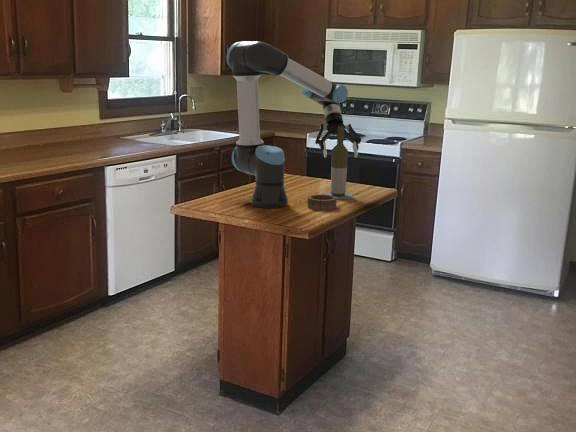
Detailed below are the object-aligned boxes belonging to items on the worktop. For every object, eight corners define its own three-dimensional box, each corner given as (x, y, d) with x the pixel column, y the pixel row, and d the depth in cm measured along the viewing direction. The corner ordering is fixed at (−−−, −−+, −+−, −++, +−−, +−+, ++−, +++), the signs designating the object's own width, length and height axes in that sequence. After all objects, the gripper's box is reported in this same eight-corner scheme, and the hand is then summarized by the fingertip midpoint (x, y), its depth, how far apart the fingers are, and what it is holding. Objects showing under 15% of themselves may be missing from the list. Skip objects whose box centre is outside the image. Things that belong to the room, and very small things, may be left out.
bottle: (348, 196, 279) (351, 127, 271) (333, 197, 276) (336, 127, 269) (342, 193, 285) (345, 125, 278) (327, 193, 283) (330, 125, 276)
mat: (326, 199, 275) (326, 198, 274) (322, 193, 286) (322, 192, 286) (354, 199, 276) (354, 198, 275) (349, 193, 287) (349, 192, 287)
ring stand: (309, 210, 255) (309, 200, 254) (306, 203, 266) (306, 194, 265) (337, 210, 256) (338, 200, 255) (333, 203, 267) (333, 194, 266)
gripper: (358, 122, 290) (366, 160, 280) (304, 122, 286) (311, 161, 275) (362, 111, 284) (371, 150, 273) (307, 111, 279) (314, 150, 269)
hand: (341, 155), depth 274 cm, fingers open, 13 cm apart
